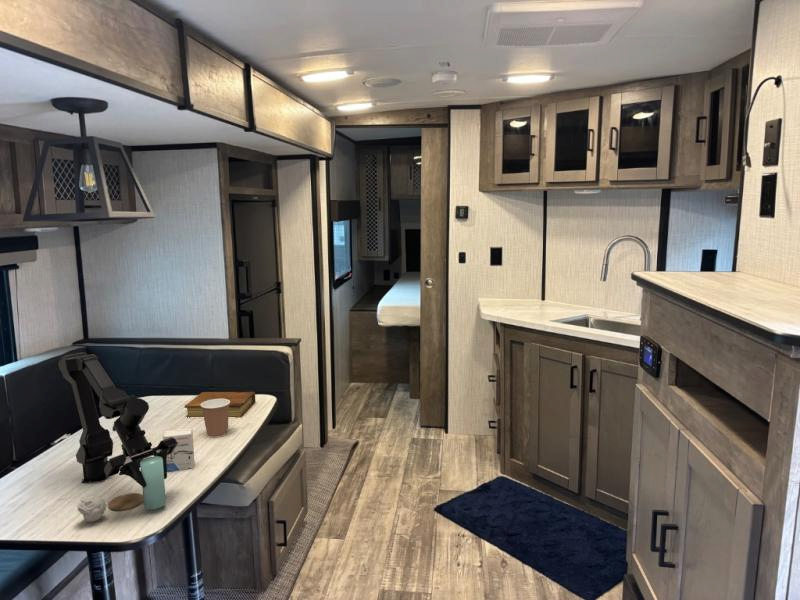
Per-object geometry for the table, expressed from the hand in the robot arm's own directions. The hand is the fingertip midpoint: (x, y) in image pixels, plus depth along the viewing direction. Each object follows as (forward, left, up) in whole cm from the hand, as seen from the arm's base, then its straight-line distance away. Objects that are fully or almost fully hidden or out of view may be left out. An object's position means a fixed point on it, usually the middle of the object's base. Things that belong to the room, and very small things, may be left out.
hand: (155, 482), depth 149 cm
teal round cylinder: (-1, +1, -7) cm, 7 cm away
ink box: (-1, +28, -8) cm, 29 cm away
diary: (+3, +83, -9) cm, 83 cm away
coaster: (-10, +6, -8) cm, 14 cm away
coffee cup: (+6, +55, -8) cm, 56 cm away
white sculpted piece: (-16, -2, -8) cm, 18 cm away
